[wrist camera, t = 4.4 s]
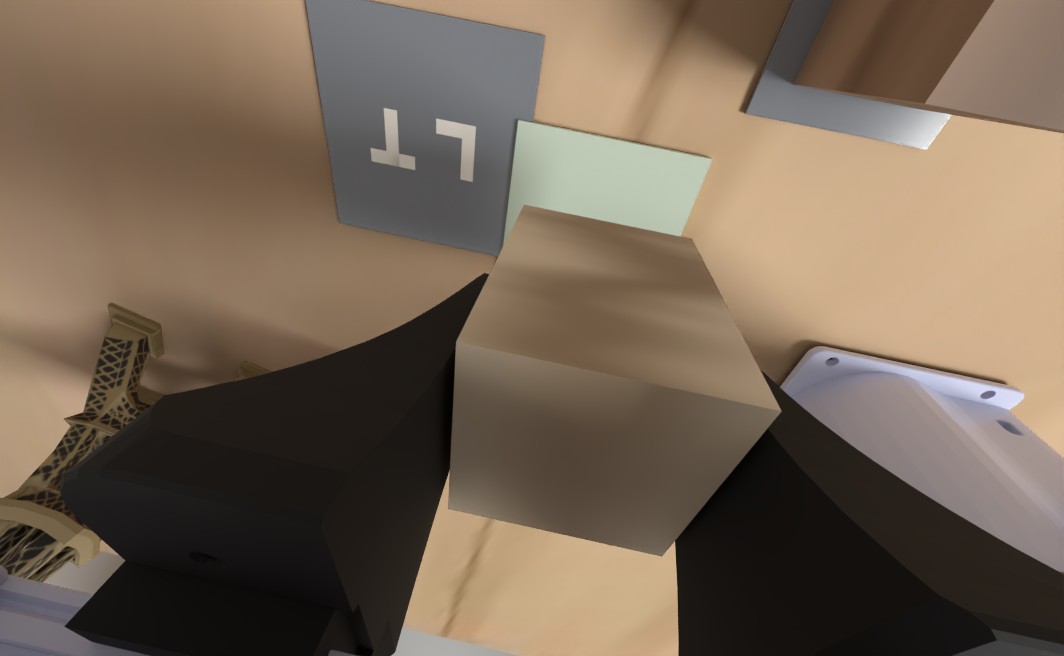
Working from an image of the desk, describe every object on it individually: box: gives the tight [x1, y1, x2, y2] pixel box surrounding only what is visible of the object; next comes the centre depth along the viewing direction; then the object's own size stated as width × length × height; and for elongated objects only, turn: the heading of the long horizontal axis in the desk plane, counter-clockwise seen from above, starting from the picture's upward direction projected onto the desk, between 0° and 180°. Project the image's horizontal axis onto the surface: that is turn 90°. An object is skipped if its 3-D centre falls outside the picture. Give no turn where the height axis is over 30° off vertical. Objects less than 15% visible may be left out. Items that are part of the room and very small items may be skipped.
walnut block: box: [793, 0, 1064, 133], centre depth 8 cm, size 4×4×6 cm
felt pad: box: [503, 120, 712, 246], centre depth 16 cm, size 7×7×1 cm
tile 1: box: [306, 0, 545, 256], centre depth 15 cm, size 8×8×1 cm
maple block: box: [448, 205, 781, 556], centre depth 9 cm, size 4×4×6 cm
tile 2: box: [745, 0, 951, 150], centre depth 11 cm, size 6×6×1 cm
